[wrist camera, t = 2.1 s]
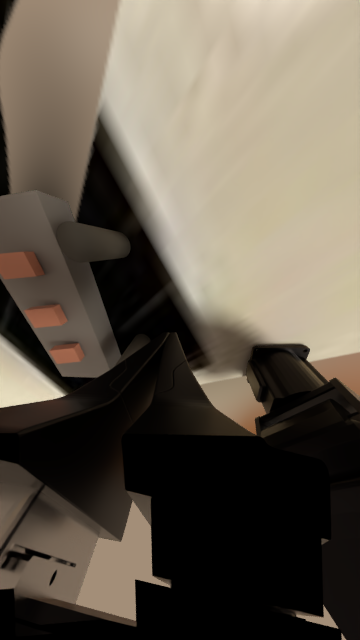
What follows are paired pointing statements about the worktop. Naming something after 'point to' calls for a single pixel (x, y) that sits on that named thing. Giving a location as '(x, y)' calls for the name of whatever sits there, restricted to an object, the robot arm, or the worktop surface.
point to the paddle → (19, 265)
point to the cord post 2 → (134, 346)
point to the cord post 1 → (91, 242)
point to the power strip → (57, 282)
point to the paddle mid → (46, 316)
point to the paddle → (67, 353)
